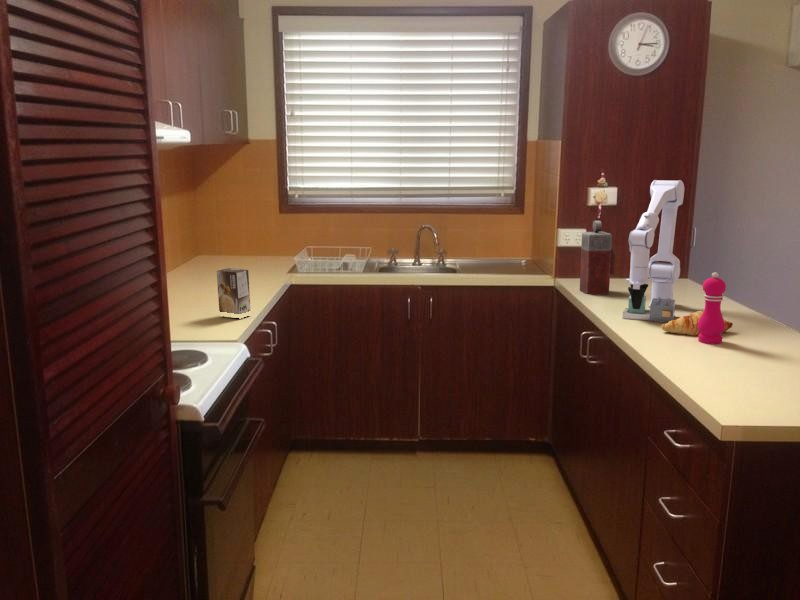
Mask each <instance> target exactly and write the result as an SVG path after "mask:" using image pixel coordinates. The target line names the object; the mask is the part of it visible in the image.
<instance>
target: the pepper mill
mask: <svg viewBox="0 0 800 600" xmlns="http://www.w3.org/2000/svg"><path fill="white" fill-rule="evenodd" d="M726 289H727V285H726V282H725V280H723V278H719V273H718V272H716V271H715V272H712V273H711V277H709V278H706V279H705V280H704V282H703V284H702V290H703V292H704V294H703V296H704V297H703V299H704V301H705V302H704V309H703V311H704V312H703V314H702V315H701V317H700V319H699V321H698V326H697V327H698V330H699V331H700V332H701V333H700V334H699V335H697V336H698V338H697V340H698V341H699V342H700V343H703V344H707V345H719V344H721V343H723V335H722V334H723V333H724V332H723V331H724V330H725V322H724V320H725V319H724V316H723V314H722V311H721V310H722V309H721V305H722V301H724V295H723V294H724V293H725V292H726V291H727V290H726Z"/></svg>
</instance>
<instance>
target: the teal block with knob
mask: <svg viewBox="0 0 800 600" xmlns="http://www.w3.org/2000/svg"><path fill="white" fill-rule="evenodd" d="M627 308H628V313H639V314H645V309H646V296H645V295H644V296H643V298H642V302H641V306H640V309H633V307H632V300H631V295H629V297H628V307H627Z"/></svg>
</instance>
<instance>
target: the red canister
mask: <svg viewBox="0 0 800 600" xmlns="http://www.w3.org/2000/svg"><path fill="white" fill-rule="evenodd" d="M602 228H603V226H602V221H601V220H593V221H592V230H593V231H583V232H582V234H581V246H580V247H581V250H580V271H579V272H580V274H579V291H580V292H581V293H583V294H585V295H586V294H593V295H609V294H610V282H611V281H610V279H611V276H613V275H615V272H616V271H615V269H616V264H615V263H616V253H615V250H614V248H612V240H613V235H612V233H610V232H606V231H602Z"/></svg>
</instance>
